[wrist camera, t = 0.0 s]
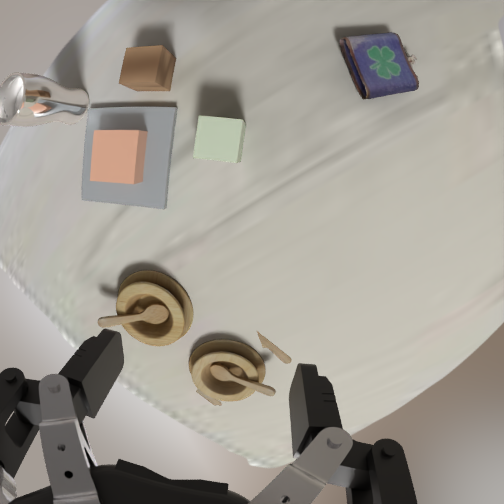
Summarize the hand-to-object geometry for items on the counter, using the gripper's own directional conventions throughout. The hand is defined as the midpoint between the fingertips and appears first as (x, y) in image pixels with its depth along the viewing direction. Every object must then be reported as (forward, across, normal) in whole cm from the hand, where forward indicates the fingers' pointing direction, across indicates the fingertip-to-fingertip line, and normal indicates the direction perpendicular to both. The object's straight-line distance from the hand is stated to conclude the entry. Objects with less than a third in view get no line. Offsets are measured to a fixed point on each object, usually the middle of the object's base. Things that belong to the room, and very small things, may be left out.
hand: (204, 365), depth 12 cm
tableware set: (+30, +6, +22) cm, 38 cm away
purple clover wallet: (+30, -12, -23) cm, 40 cm away
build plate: (+29, +18, -7) cm, 35 cm away
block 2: (+29, +4, -10) cm, 31 cm away
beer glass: (+30, +29, -15) cm, 44 cm away
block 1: (+29, +15, -19) cm, 38 cm away
